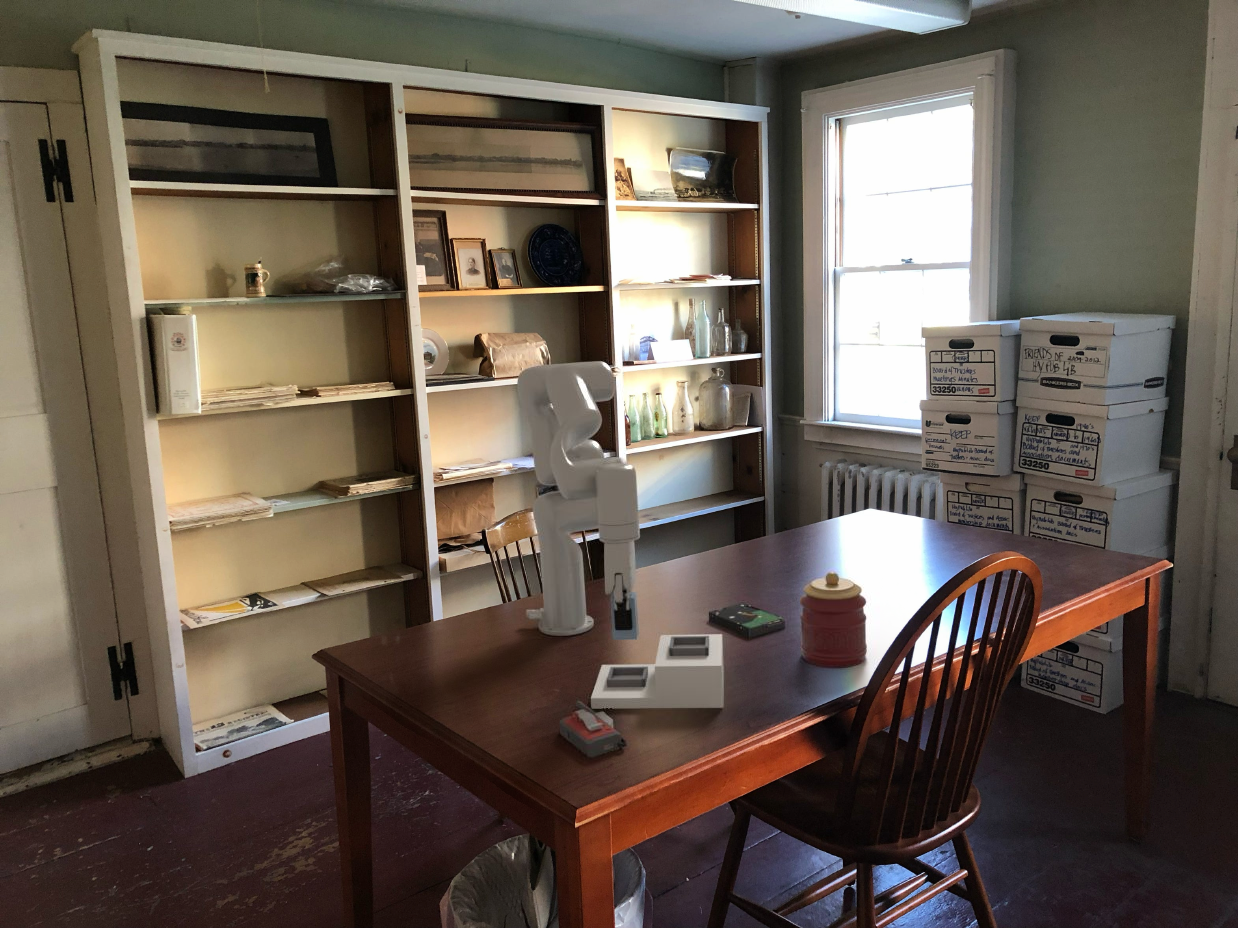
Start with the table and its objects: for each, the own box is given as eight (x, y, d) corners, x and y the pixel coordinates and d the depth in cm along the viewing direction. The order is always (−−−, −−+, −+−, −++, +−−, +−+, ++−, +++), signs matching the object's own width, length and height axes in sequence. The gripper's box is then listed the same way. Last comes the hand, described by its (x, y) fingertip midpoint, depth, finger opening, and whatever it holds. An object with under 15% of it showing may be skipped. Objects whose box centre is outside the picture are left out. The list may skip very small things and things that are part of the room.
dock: (591, 708, 176) (588, 659, 175) (602, 674, 192) (599, 628, 190) (723, 707, 173) (721, 657, 172) (723, 672, 189) (721, 626, 187)
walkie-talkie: (638, 748, 160) (583, 708, 178) (637, 723, 160) (581, 685, 177) (592, 763, 156) (540, 720, 173) (590, 738, 155) (538, 697, 173)
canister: (788, 651, 198) (786, 569, 195) (843, 640, 202) (841, 559, 199) (823, 673, 186) (821, 585, 183) (880, 661, 190) (879, 575, 187)
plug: (612, 639, 180) (610, 598, 178) (615, 633, 183) (612, 592, 182) (636, 639, 179) (634, 597, 178) (638, 632, 183) (636, 592, 181)
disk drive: (707, 623, 219) (750, 640, 207) (707, 611, 219) (749, 627, 207) (743, 613, 225) (786, 629, 212) (742, 602, 224) (786, 616, 212)
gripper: (604, 521, 186) (610, 612, 189) (592, 542, 170) (599, 641, 173) (643, 519, 185) (648, 611, 188) (635, 541, 169) (641, 640, 172)
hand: (625, 624), depth 181 cm, fingers closed on plug, 3 cm apart
